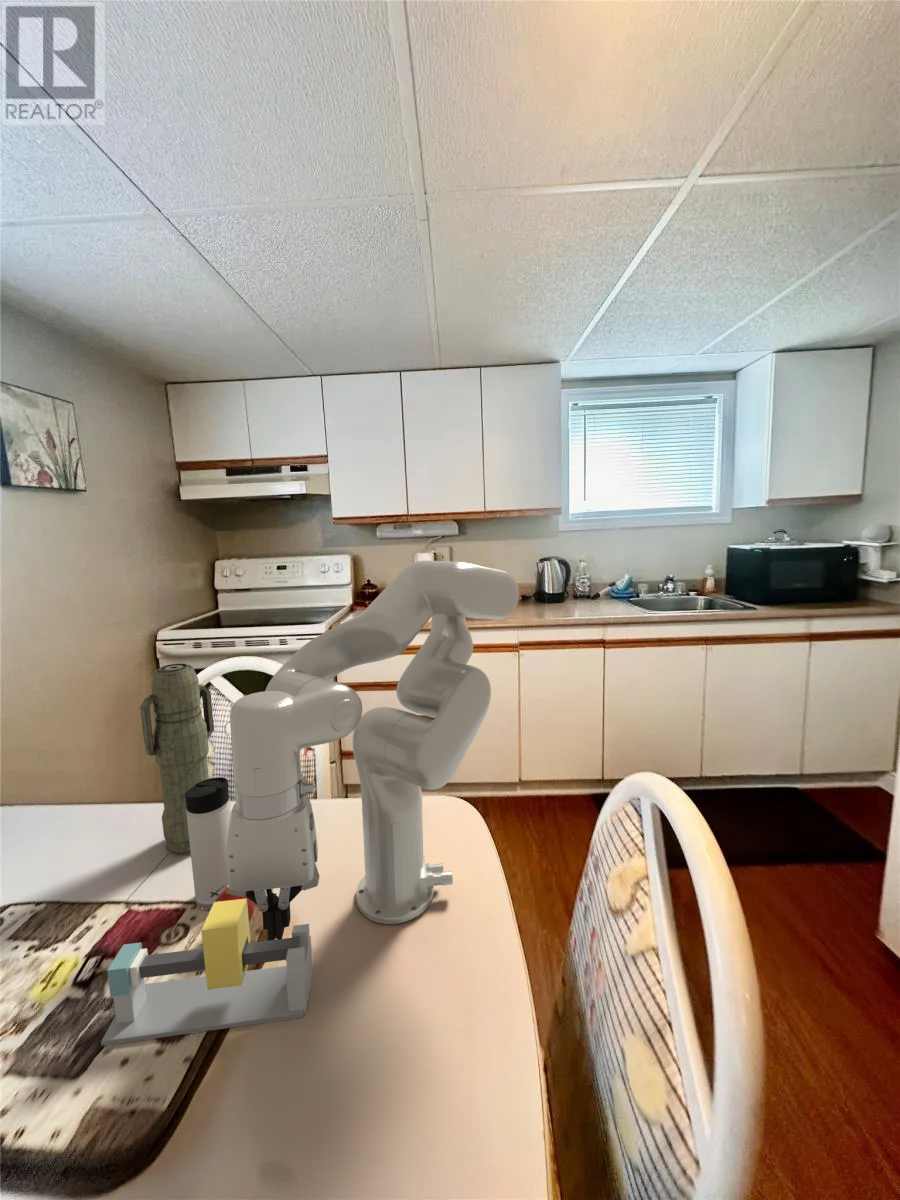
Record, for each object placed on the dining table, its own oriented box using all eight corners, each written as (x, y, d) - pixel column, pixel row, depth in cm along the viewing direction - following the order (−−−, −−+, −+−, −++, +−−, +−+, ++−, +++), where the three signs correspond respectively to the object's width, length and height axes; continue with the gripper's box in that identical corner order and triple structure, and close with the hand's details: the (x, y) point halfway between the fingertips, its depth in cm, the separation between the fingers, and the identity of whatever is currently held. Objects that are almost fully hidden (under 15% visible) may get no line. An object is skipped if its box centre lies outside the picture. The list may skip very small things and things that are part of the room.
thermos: (233, 830, 96) (218, 661, 91) (176, 866, 86) (155, 679, 81) (206, 817, 101) (190, 656, 95) (148, 851, 90) (126, 672, 85)
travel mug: (223, 914, 75) (212, 796, 72) (187, 908, 77) (174, 792, 74) (247, 885, 81) (238, 775, 78) (213, 880, 83) (202, 771, 80)
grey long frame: (313, 966, 66) (309, 912, 65) (305, 1016, 59) (300, 958, 58) (132, 989, 63) (125, 933, 62) (101, 1045, 56) (92, 984, 55)
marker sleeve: (251, 954, 63) (246, 898, 62) (241, 985, 59) (236, 926, 58) (219, 958, 63) (214, 902, 61) (207, 989, 58) (201, 930, 57)
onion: (244, 911, 76) (240, 865, 75) (263, 929, 72) (259, 882, 71) (206, 935, 71) (201, 887, 70) (225, 956, 68) (220, 906, 67)
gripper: (335, 775, 63) (340, 902, 65) (215, 783, 61) (225, 914, 63) (329, 807, 55) (335, 949, 58) (191, 818, 53) (203, 964, 56)
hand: (277, 930), depth 60 cm, fingers closed
